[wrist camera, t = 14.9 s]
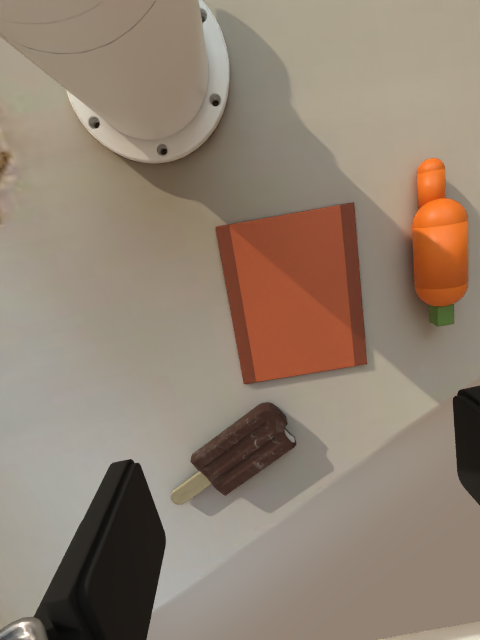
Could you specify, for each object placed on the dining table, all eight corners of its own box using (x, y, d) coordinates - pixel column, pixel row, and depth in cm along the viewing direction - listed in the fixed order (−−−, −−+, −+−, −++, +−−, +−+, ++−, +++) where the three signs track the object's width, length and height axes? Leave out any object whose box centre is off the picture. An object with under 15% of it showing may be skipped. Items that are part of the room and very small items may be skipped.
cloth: (215, 226, 31) (215, 226, 30) (352, 202, 30) (354, 202, 30) (244, 382, 35) (244, 384, 34) (365, 362, 34) (367, 364, 34)
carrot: (400, 165, 30) (426, 155, 26) (447, 156, 29) (480, 146, 26) (407, 321, 33) (431, 333, 29) (450, 313, 33) (479, 325, 29)
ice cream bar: (190, 510, 38) (300, 432, 36) (189, 522, 37) (303, 441, 34) (157, 478, 37) (269, 396, 35) (154, 490, 36) (270, 404, 33)
